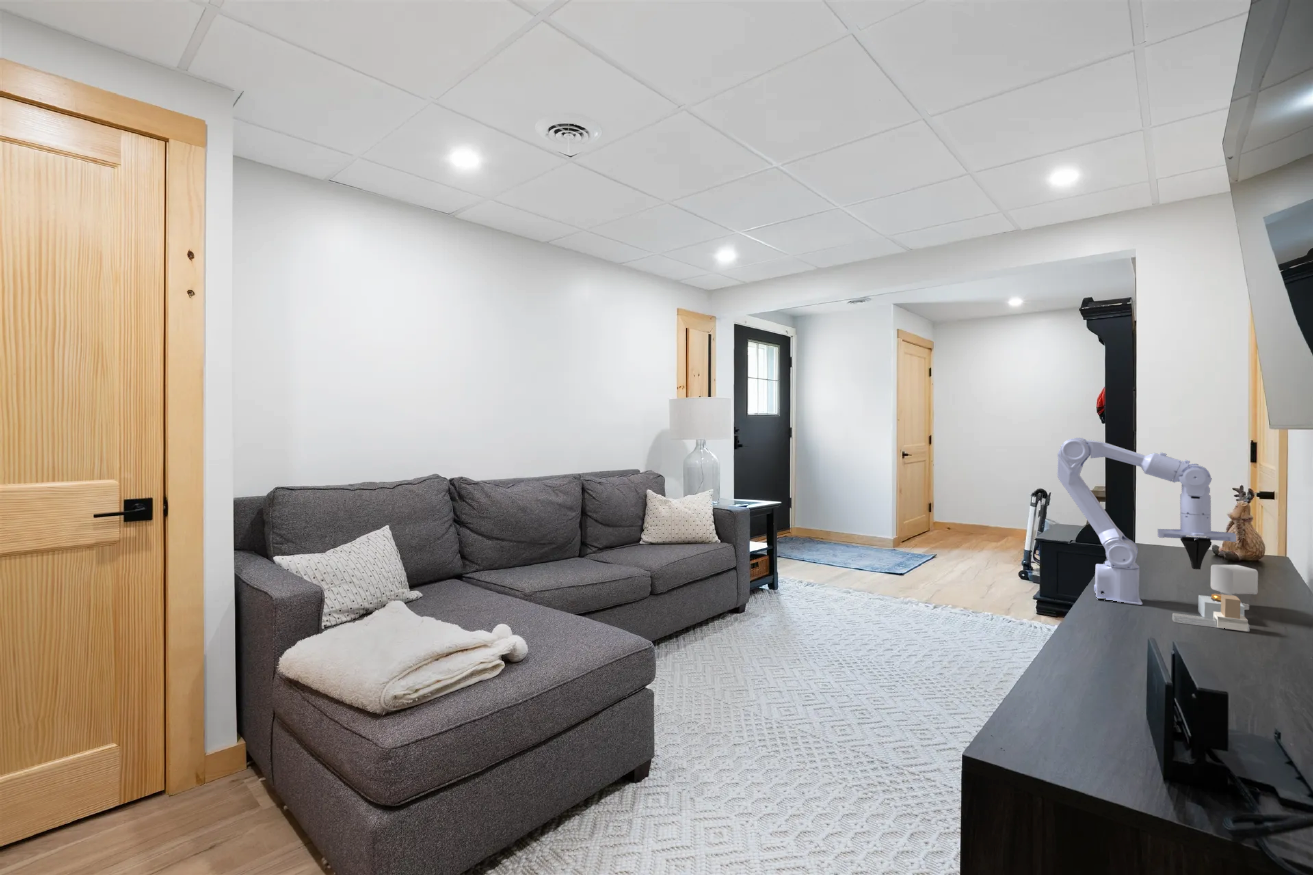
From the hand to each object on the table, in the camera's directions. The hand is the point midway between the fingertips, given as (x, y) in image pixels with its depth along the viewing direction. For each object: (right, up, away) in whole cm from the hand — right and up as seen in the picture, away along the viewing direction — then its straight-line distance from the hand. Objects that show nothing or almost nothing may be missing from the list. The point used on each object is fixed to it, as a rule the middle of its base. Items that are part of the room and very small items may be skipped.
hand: (1196, 568), depth 154 cm
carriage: (-3, -11, -13) cm, 17 cm away
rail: (-6, -11, -11) cm, 17 cm away
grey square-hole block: (+1, -11, -5) cm, 12 cm away
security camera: (+12, -11, +3) cm, 16 cm away
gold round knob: (+1, -10, -5) cm, 11 cm away
